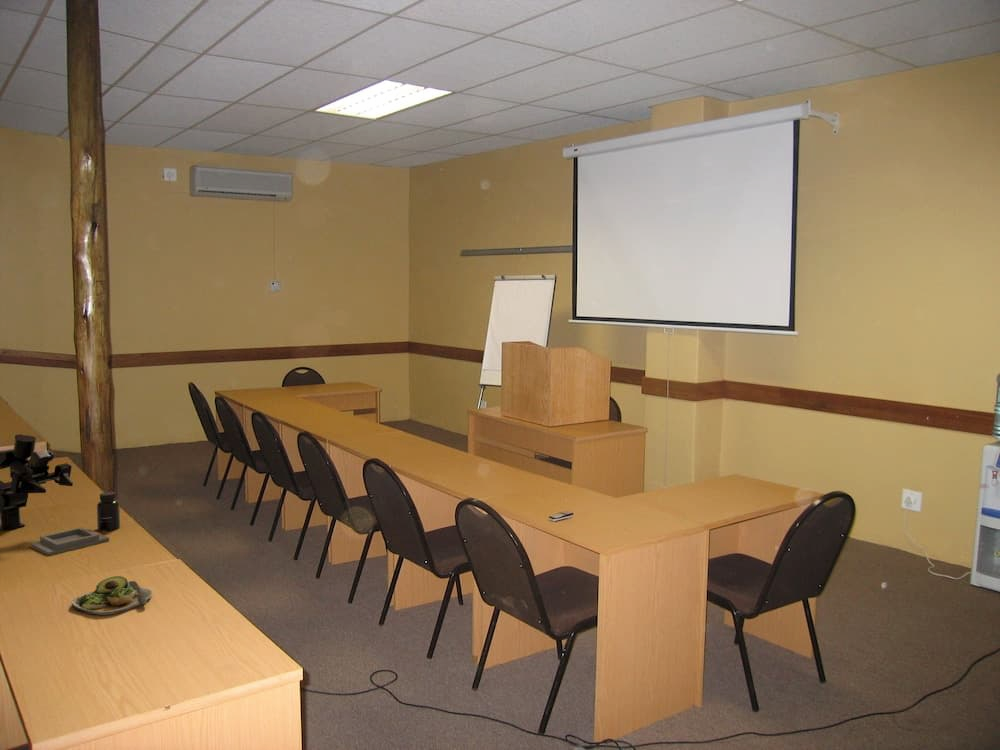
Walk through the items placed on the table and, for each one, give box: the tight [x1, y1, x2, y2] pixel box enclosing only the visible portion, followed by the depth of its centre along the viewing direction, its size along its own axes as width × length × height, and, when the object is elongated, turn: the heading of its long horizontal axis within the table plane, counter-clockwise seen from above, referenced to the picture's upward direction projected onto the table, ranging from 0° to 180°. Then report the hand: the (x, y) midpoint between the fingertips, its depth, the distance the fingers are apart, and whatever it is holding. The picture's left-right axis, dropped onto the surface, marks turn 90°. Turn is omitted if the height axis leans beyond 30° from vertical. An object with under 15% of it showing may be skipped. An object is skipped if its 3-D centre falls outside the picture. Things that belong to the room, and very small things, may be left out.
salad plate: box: [71, 575, 153, 616], centre depth 199 cm, size 19×18×5 cm
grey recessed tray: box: [29, 526, 110, 556], centre depth 244 cm, size 14×18×2 cm
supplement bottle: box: [96, 491, 121, 532], centre depth 259 cm, size 7×7×12 cm
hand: (59, 488), depth 249 cm, fingers open, 9 cm apart
